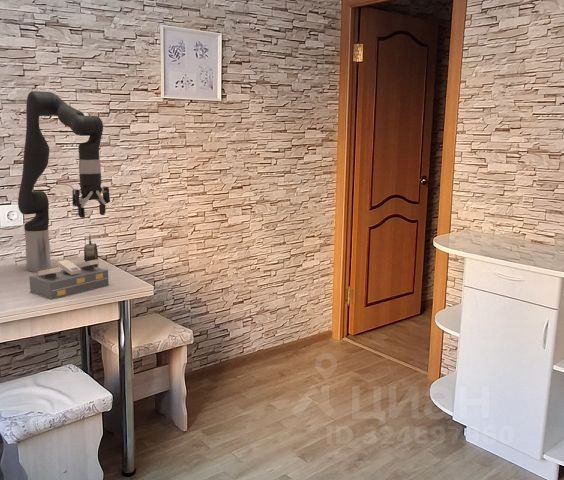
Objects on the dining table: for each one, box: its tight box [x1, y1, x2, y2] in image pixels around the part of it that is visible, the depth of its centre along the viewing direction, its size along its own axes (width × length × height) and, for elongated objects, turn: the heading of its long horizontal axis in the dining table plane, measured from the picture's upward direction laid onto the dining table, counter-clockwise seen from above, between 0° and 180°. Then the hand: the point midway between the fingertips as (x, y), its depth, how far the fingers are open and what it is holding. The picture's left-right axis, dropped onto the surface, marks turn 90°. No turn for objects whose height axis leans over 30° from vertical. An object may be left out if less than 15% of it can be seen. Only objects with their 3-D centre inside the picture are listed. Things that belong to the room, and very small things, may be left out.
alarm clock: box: [83, 233, 100, 268], centre depth 243 cm, size 11×5×16 cm, turn 13°
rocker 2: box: [57, 259, 81, 275], centre depth 218 cm, size 9×4×2 cm, turn 52°
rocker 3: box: [76, 258, 100, 267], centre depth 224 cm, size 9×4×2 cm, turn 52°
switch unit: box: [28, 265, 110, 300], centre depth 219 cm, size 14×24×7 cm, turn 142°
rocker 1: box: [37, 266, 62, 276], centre depth 212 cm, size 9×4×2 cm, turn 52°
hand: (92, 216), depth 214 cm, fingers open, 8 cm apart
